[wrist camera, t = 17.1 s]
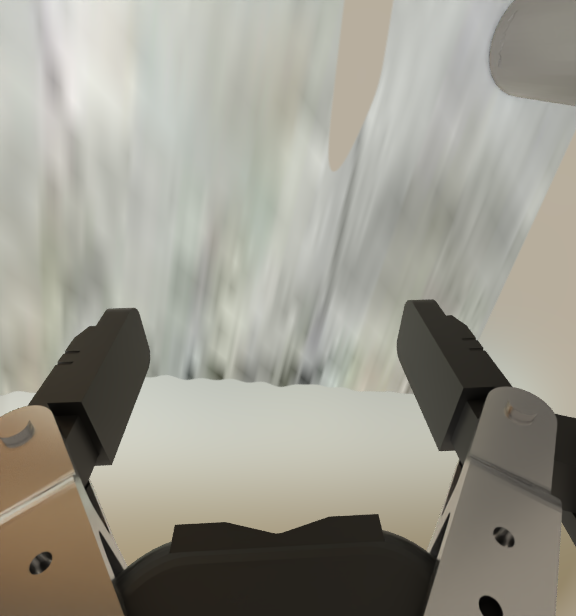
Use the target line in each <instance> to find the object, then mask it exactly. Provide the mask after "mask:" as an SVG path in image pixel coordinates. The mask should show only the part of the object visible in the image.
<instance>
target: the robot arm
mask: <svg viewBox="0 0 576 616" xmlns="http://www.w3.org/2000/svg"><path fill="white" fill-rule="evenodd" d="M489 61H490V70H491V75H492V77H493V79H494V81H495V83H496V85H497V86H498V87H499V88H500V89H501V90H502V91H503V92H505V93H507V94H508V95H511V96H515V97H521V98H527V99H534V100H539V101H545V102H552V103H558V104H565V105H571V106H576V0H514V1H513V2H512V3H511V5H510V6H509V7H508V9H507V10H506V12H505V13H504V15H503V16H502V18H501V20H500V22H499V24H498V26H497V28H496V30H495V33H494V36H493V39H492V42H491V48H490V54H489ZM397 353H398V358H399V361H400V363H401V365H402V368H403V370H404V372H405V374H406V377H407V379H408V381H409V384H410V386H411V388H412V390H413V393H414V395H415V397H416V399H417V402H418V404H419V406H420V409H421V411H422V413H423V415H424V418H425V420H426V422H427V425H428V427H429V429H430V431H431V434H432V436H433V438H434V441H435V442H436V445H437V447H438V449H439V451H453V450H455V451H456V453H457V455H458V457H459V461H458V463H457V465H456V468H455V471H454V474H453V477H452V480H451V483H450V486H449V489H448V492H447V495H446V499H445V501H444V504H443V507H442V510H441V513H440V516H439V519H438V522H437V525H436V528H435V531H434V533H433V536H432V538H431V541H430V543H429V546H428V549H427V551H426V550H424V549H423V548H421V547H420V546H418V545H417V544H415V543H413V542H411V541H409V540H408V539H406V538H404V537H401V536H399V535H396V534H394V533H391V532H388V531H383V530H382V528H381V524H380V520H379V515H378V514H373V515H353V516H334V517H327V518H325V519H321V520H318V521H315V522H312V523H310V524H307V525H304V526H301V527H298V528H295V529H292V530H289V531H286V532H284V533H279V534H275V533H270V532H266V531H261V530H257V529H252V528H248V527H244V526H240V525H235V524H231V523H226V522H221V523H204V524H203V523H201V524H182V525H175V527H174V533H173V537H172V542H169V543H166V544H164V545H162V546H160V547H158V548H155V549H153V550H152V551H150V552H148V553H147V554H145V555H143V556H142V557H140V558H139V559H137V560H136V561H135V562H133V563H132V564H131V565H130V566H128V567H127V564H126V562H125V560H124V558H123V556H122V554H121V552H120V550H119V548H118V546H117V544H116V542H115V539H114V537H113V534H112V532H111V529H110V527H109V524H108V522H107V520H106V517H105V515H104V512H103V510H102V507H101V505H100V503H99V500H98V498H97V495H96V493H95V490H94V488H93V485H92V483H91V481H90V479H89V477H90V475H91V473H92V470H93V468H94V466H100V465H112V463H113V460H114V458H115V455H116V452H117V450H118V447H119V444H120V442H121V439H122V437H123V434H124V431H125V429H126V426H127V423H128V421H129V418H130V415H131V413H132V410H133V408H134V405H135V402H136V400H137V397H138V395H139V392H140V389H141V387H142V384H143V381H144V379H145V376H146V374H147V371H148V368H149V364H150V350H149V346H148V342H147V339H146V335H145V332H144V328H143V325H142V321H141V318H140V314H139V312H138V310H137V309H136V308H115V309H107V310H106V311H105V313H104V314H103V316H102V317H101V319H100V321H99V322H98V324H97V325H96V326H89V327H88V328H87V329H85V330H84V331H83V332H81V333H80V334H79V335H78V336H76V337H75V338H74V339H73V341H72V342H71V343H70V345H69V346H68V348H67V349H66V351H65V354H63V355H62V357H61V358H60V359H59V361H58V365H55V367H54V368H53V370H52V371H51V373H50V374H49V375H48V377H47V378H46V380H45V381H44V383H43V384H42V386H41V387H40V389H39V390H38V391H37V393H36V394H35V396H34V397H33V399H32V400H31V402H30V403H29V405H28V406H25V407H22V408H18V409H16V410H13V411H10V412H9V413H6V414H4V415H3V416H1V417H0V616H555V611H556V597H557V582H558V565H559V551H560V536H561V522H562V523H563V525H564V527H565V529H566V530H567V532H568V534H569V535H570V537H571V539H572V541H573V542H574V544H575V546H576V418H572V417H567V416H562V415H558V414H554V412H553V410H552V409H551V408H550V407H549V406H548V405H547V404H546V403H545V402H544V401H543V400H542V399H540V398H539V397H537V396H535V395H533V394H532V393H530V392H527V391H525V390H522V389H519V388H514V387H512V386H511V384H510V383H509V382H508V380H507V379H506V378H505V376H504V375H503V374H502V372H501V371H500V370H499V369H498V367H497V366H496V364H495V363H494V362H493V360H492V359H491V358H490V356H489V355H488V354H487V352H486V351H483V347H482V346H481V344H480V343H479V342H478V340H476V338H475V336H474V335H473V334H472V332H471V331H470V330H469V328H468V327H467V326H466V325H465V324H463V323H462V322H461V321H459V320H458V319H456V318H455V317H454V316H452V315H448V316H446V315H445V314H444V312H443V311H442V309H441V308H440V307H439V305H438V304H437V302H436V301H435V300H408V301H407V302H406V304H405V306H404V311H403V316H402V320H401V325H400V330H399V334H398V339H397Z"/></svg>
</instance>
